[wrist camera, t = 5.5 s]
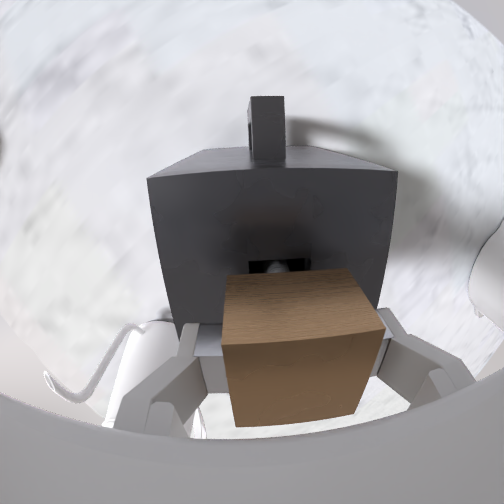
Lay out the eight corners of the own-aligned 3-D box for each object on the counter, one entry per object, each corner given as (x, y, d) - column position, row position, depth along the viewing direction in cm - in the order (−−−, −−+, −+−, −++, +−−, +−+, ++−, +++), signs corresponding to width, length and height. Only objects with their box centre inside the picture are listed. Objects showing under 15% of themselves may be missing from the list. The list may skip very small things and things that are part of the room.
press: (308, 113, 23) (398, 96, 8) (307, 242, 29) (364, 353, 14) (201, 117, 23) (139, 97, 8) (212, 247, 29) (186, 366, 14)
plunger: (298, 165, 23) (443, 273, 5) (298, 238, 26) (378, 423, 8) (219, 168, 23) (147, 295, 5) (224, 241, 26) (201, 442, 8)
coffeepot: (151, 253, 29) (72, 392, 12) (239, 390, 39) (240, 501, 22) (85, 282, 30) (6, 392, 13) (179, 401, 40) (164, 500, 23)
